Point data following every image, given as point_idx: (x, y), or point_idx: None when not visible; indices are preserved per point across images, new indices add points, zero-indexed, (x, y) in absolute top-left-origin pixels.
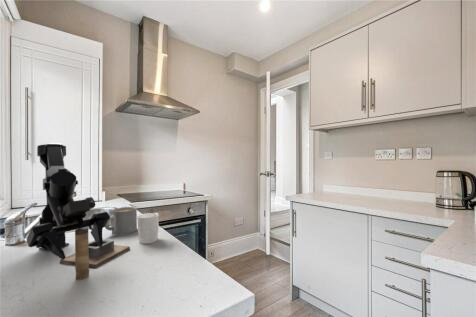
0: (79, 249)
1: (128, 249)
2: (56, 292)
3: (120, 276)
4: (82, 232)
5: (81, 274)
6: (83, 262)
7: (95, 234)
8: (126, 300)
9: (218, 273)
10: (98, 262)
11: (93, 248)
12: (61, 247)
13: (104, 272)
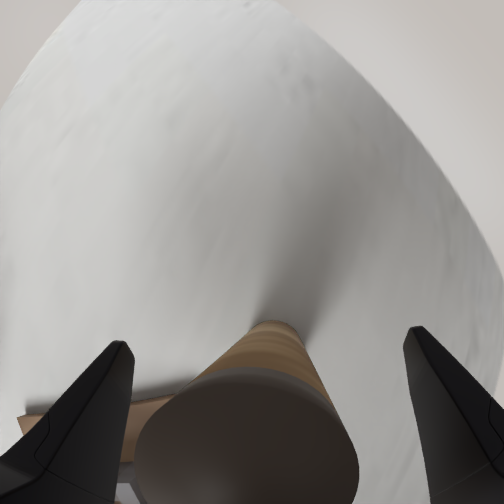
0: (303, 353)
1: (28, 415)
2: (396, 292)
3: (172, 188)
4: (278, 377)
5: (287, 326)
6: (276, 328)
7: (91, 473)
8: (258, 39)
9: (67, 17)
10: (165, 402)
11: (138, 499)
12: (450, 390)
13: (188, 296)
